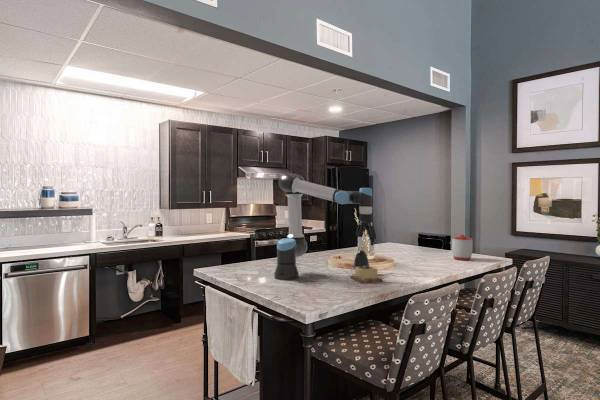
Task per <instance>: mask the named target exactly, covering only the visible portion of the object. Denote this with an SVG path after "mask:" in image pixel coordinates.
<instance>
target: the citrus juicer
mask: <svg viewBox="0 0 600 400" xmlns="http://www.w3.org/2000/svg"><path fill="white" fill-rule="evenodd" d="M449 244H451V252H452V257H453V259H454V260H458V261H470V260H471V258H472V255H473V246H474V244H473V238H472V237H468V236H467V237H466V236H465V235H464V234H460V235H459V236H455V237H454V238H453V237H451V241H450V242H449Z"/></svg>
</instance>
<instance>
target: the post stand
mask: <svg viewBox="0 0 600 400" xmlns="http://www.w3.org/2000/svg"><path fill="white" fill-rule="evenodd" d="M369 266H370V265H369ZM369 266H367V265H364V266H363V269H369ZM350 279H351V280H353V281H355V282H357V283H359V284H361V285H362V284H373V283H383V282H384V280H383V278H380V277H378V276H377V279H369V280H362V279H360V278H358V277H355V275H350Z"/></svg>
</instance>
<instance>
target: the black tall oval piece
mask: <svg viewBox="0 0 600 400" xmlns="http://www.w3.org/2000/svg"><path fill="white" fill-rule="evenodd" d="M367 255H368V254H367V253H366V251H364V250H363V249H361V250H358V251H357V253H356V254H355V257H354V261H353V267H352V268H353V270H354V272H355V267H358V266H364V265H367V266H370V263H369V258H368V256H367Z"/></svg>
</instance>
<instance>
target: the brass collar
mask: <svg viewBox="0 0 600 400" xmlns="http://www.w3.org/2000/svg"><path fill="white" fill-rule="evenodd" d="M354 273H355V274H354V276H355V277H358V278H360V279H362V280H369V279H377V277H378V268H376V267H374V266H371V265H369V269H363V266H358V267H355V271H354Z"/></svg>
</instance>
